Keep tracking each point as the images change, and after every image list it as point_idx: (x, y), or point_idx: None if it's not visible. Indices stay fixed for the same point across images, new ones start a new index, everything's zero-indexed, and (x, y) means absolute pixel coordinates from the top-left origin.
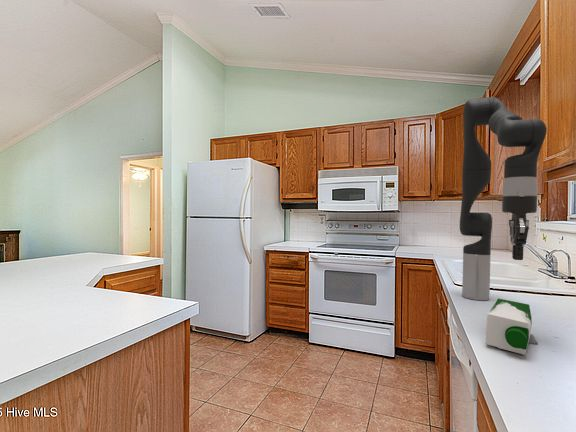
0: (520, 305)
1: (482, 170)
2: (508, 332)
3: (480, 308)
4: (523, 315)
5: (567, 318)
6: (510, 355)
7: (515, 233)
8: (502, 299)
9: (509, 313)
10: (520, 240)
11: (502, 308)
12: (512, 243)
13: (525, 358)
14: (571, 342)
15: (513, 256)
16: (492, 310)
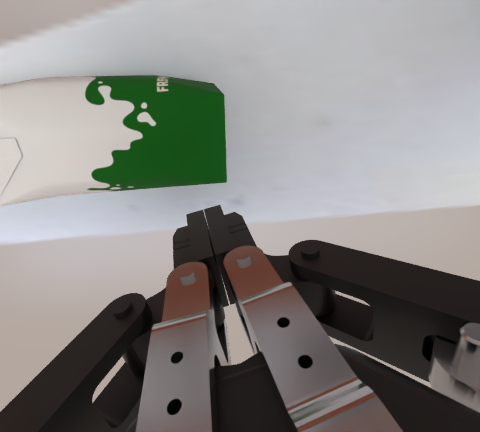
0: (154, 172)
1: None
2: None
3: (396, 6)
4: (69, 187)
5: (400, 205)
6: None
7: (18, 421)
8: (210, 110)
9: (7, 160)
10: (125, 357)
11: (44, 134)
12: (181, 271)
13: None
14: None
15: (189, 221)
16: (76, 94)
